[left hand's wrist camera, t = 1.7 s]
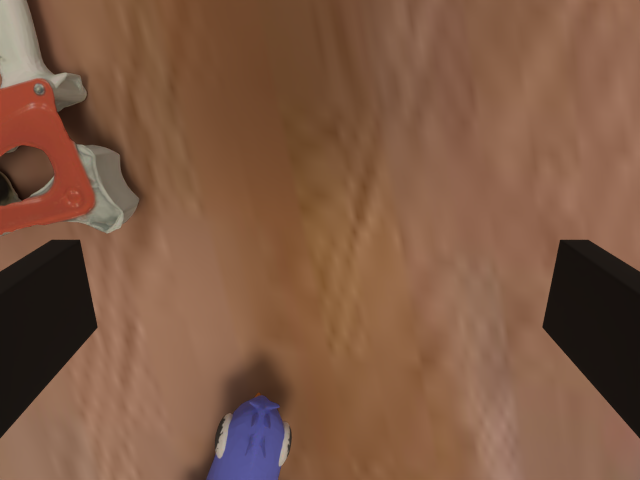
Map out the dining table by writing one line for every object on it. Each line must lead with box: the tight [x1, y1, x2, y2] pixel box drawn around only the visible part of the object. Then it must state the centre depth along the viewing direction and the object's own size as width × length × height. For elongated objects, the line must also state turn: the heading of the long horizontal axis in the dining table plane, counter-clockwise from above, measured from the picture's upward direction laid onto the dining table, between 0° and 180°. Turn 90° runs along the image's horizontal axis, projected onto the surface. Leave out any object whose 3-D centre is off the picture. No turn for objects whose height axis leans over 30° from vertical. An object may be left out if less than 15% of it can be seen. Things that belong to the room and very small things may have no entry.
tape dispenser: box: [0, 0, 139, 236], centre depth 30 cm, size 18×5×20 cm
